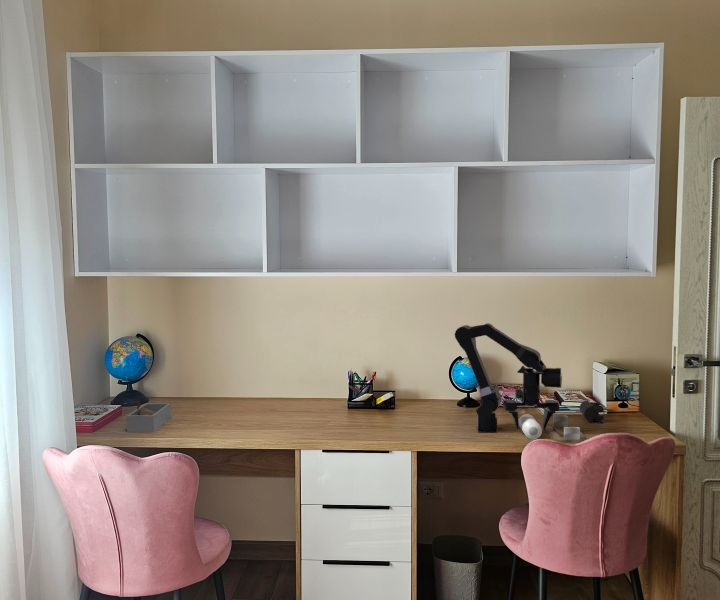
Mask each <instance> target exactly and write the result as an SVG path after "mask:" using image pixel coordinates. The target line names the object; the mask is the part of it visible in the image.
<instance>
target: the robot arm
mask: <svg viewBox="0 0 720 600" xmlns="http://www.w3.org/2000/svg"><path fill="white" fill-rule="evenodd" d="M483 336H486V337H487V338H489V339H491V340H492V341H494V342H495V343H496V344H498V345H499V346H501V347H503V348H504V349H506V351H508V352H510V353H511V354H512V355H514V356H515V357H516V358H517V360H518V361H520V363H522V365H521V367H520V368H519V369H518V370H517V374H522V389H520V388H519V389H515V391H514V392H515V393H514V394H515V399H516V400H517V399H520V402H517V401H516V400H515V399H504V401H502V397H503V395H502V394H501V393H500V389H499V386H495V387H494V385H493V384H492V382H491V380H490V378H489V376H488V373H487V370H486V368H485V364H484V363H483V360H482V358H481V356H480V353H479V351H478V350H479V349H478V348H477V340H476V338H479V337H483ZM454 338H455V340H456V342H457V343H458V345H459V346H460V348H461V349H462V350H463V351H464V352H465V355H466V357H467V359H468V362H469V364H470V365H469V366H470V367H471V369H472V372H473V374H474V376H475V380H476V382H477V384H478V387H479V391H480V401H481V404H480V405H479V406H478V408H477V409H476V410H475V412H476V430H477V432H478V433H497V430H498V418H497V414H496V413H495V412H496V411H497V410H498V408H499V407H500V406H501V404H503V405H502V406H503V409H504V411H505V412H508V413H509V414H511V415H512V419H513V421H514V424H515V428H516V430H519V428H520V426H519V414H518V411H517V409H543V421H542V431H546V430H545V428H546V426H548V423H549V421H550V419H551V417H553V415H554V414H556V412H560V403H559V402H557V400H555V399H545V400H544V402H540V393H541V390H540V388H541V386H540V385H541V384H542V386H544V387H545V388H557V389H558V388H559V389H561V388H562V384H563V376H562V368H561V367H554V368H553V367H547V365H545V362H543V360H542V356H541V353H540V352H539V351H538V350H536V349H534V348H532V347H529V346H527V345H524V344H522V343H519V342H518V341H516V340H515V339H513V338H511V337H510V336H509V335H507V334H505V333H504V332H502V331H501V330H500V329H498V328H496V327H495V326H494V325H493V324H492V323H489V322H488V323H485V324H481V325H479V324H478V325H475V326H474V325H473V326H470V325H467V324H465V325H462V326H459V327H457V329H456V330H455V332H454Z"/></svg>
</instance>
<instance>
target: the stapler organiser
mask: <svg viewBox="0 0 720 600" xmlns="http://www.w3.org/2000/svg"><path fill="white" fill-rule="evenodd" d="M143 408H146V409H149V410H151V411H153V412H155V413H154V414H153V415H139V410H140V409H143ZM125 417H126V418H125V419H126V433H155V432H157V430H159V429H160V428H162V427H163V426H164V425H162V423H163V422H164V423H165V424H167V423H168V422H169V421H170V420H171V419H172V403H163V402H162V403H156V402H154V403H151V402H150V403H148V402H147V403H144V404H142V405H141V406H139V409H137V408H136V409H135V410H133V411H132V412H130V413H128V414H126V415H125Z"/></svg>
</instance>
